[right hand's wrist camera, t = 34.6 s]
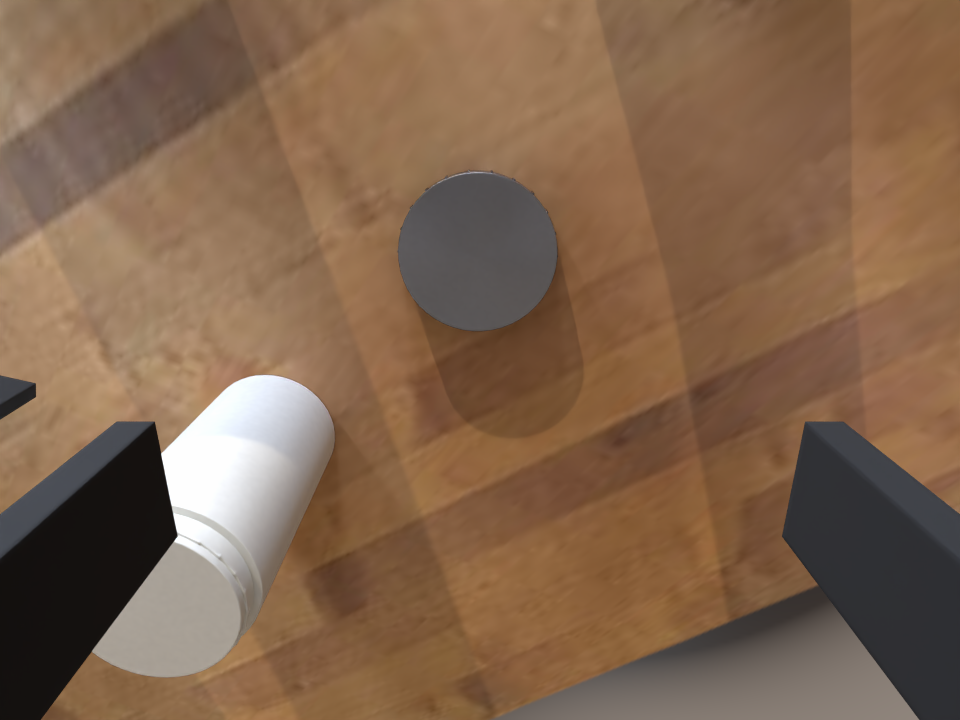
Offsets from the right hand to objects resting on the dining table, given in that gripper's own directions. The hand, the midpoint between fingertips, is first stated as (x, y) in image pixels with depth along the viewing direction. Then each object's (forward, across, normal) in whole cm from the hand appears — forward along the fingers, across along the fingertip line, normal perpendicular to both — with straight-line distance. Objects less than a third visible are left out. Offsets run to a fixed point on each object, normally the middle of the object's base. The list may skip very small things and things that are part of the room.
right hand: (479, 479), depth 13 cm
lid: (+26, 0, 0) cm, 26 cm away
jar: (+28, +15, +13) cm, 34 cm away
